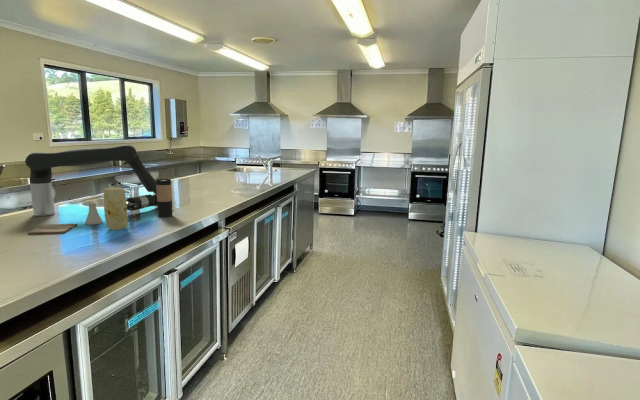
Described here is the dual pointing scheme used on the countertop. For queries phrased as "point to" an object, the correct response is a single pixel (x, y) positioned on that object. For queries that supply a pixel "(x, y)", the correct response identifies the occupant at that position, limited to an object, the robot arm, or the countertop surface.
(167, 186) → the travel mug
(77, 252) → the countertop surface
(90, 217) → the flask
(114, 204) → the food model
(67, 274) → the countertop surface
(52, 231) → the walnut board
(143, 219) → the countertop surface
